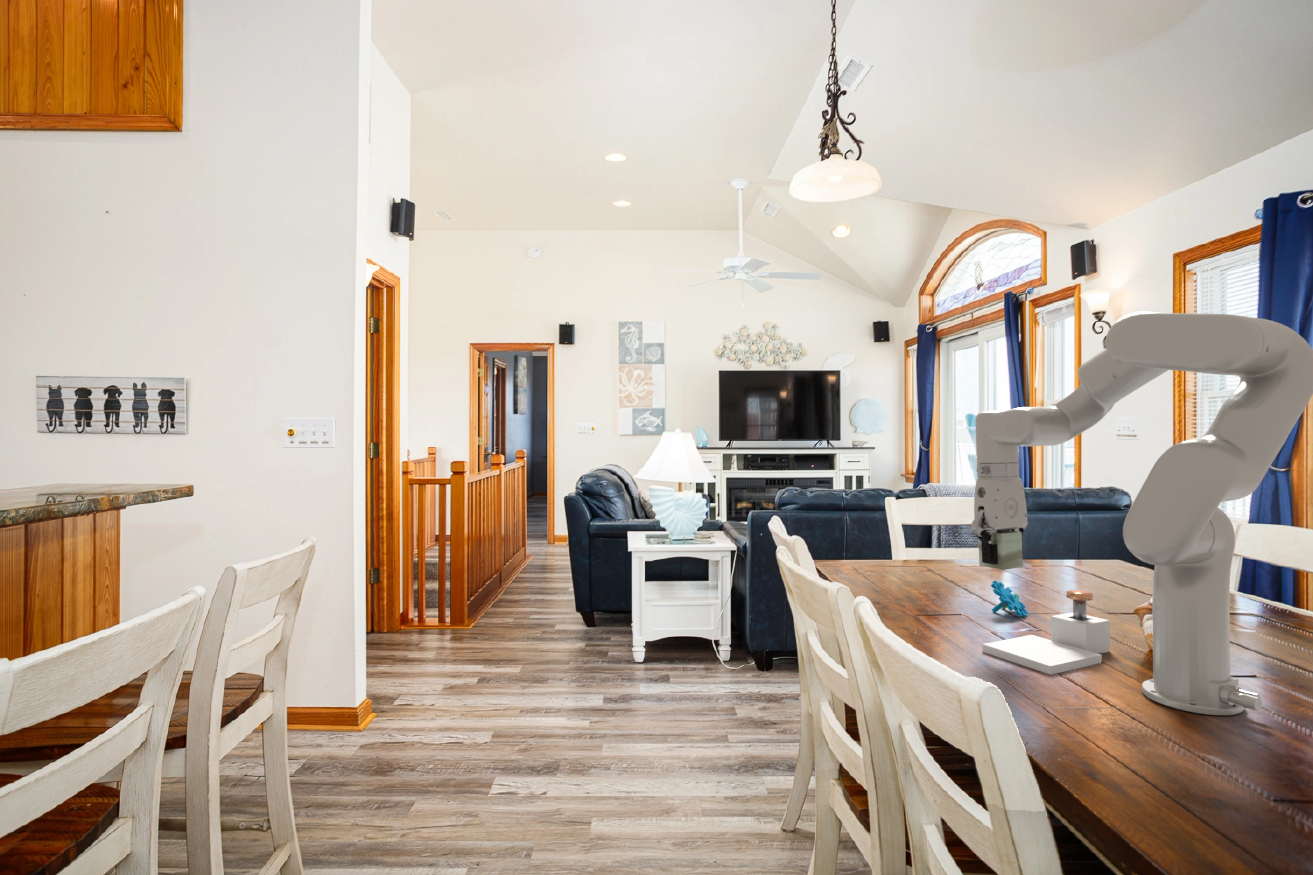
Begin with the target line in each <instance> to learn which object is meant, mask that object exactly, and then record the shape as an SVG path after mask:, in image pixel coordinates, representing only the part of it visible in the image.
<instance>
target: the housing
mask: <svg viewBox="0 0 1313 875" xmlns="http://www.w3.org/2000/svg"><path fill="white" fill-rule="evenodd" d="M987 534H988V535H990V531H987ZM1022 536H1023V533H1021V532H1017V531H1011V530H1010V531H1008V530H1007V529H1004V530H997V533H996V539H995V543H994V544H997V555H998V564H995V565H994V564H988V563H983V562H982V543H980V542H979V541H978V562H979V566H980V567H985V568H992V569H997V570H1002V571H1004V570H1011V569H1019V568H1024V565H1023V564H1024V563H1023V561H1024V560H1023V538H1022Z"/></svg>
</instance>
